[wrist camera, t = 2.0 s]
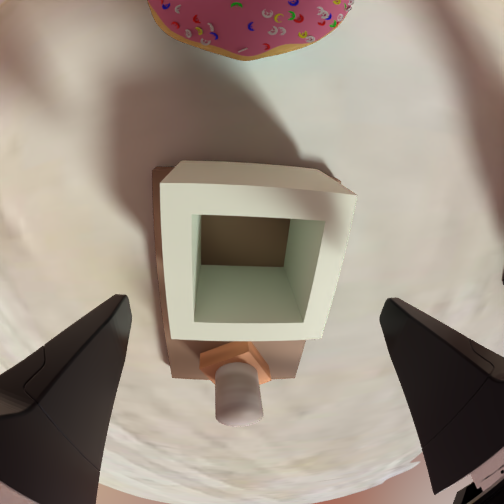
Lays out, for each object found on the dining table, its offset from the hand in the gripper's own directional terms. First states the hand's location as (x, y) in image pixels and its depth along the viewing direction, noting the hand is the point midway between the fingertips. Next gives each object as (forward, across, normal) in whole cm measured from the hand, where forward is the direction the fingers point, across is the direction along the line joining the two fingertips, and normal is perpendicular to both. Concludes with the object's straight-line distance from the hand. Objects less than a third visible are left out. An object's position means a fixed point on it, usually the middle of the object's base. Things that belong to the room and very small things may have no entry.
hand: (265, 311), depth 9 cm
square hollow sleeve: (+7, 0, 0) cm, 7 cm away
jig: (+8, 0, +5) cm, 10 cm away
